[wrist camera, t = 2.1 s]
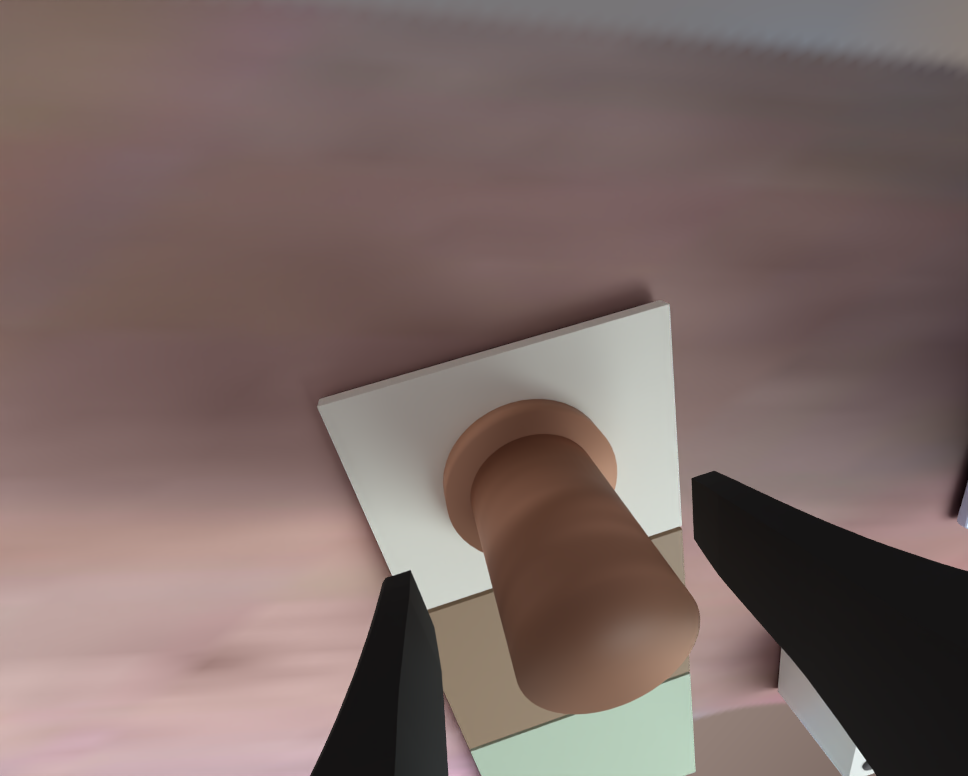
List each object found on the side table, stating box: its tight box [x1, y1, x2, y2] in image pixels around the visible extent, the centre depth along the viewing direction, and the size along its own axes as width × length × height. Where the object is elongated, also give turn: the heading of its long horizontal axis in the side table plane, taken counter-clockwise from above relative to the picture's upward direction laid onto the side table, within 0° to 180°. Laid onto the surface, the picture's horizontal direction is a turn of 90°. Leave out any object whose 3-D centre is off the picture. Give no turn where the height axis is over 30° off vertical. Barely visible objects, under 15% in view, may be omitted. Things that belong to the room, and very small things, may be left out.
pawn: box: [443, 399, 700, 714], centre depth 12 cm, size 5×5×6 cm
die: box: [778, 648, 874, 776], centre depth 21 cm, size 4×4×4 cm
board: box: [317, 300, 695, 776], centre depth 18 cm, size 10×25×1 cm, turn 13°
